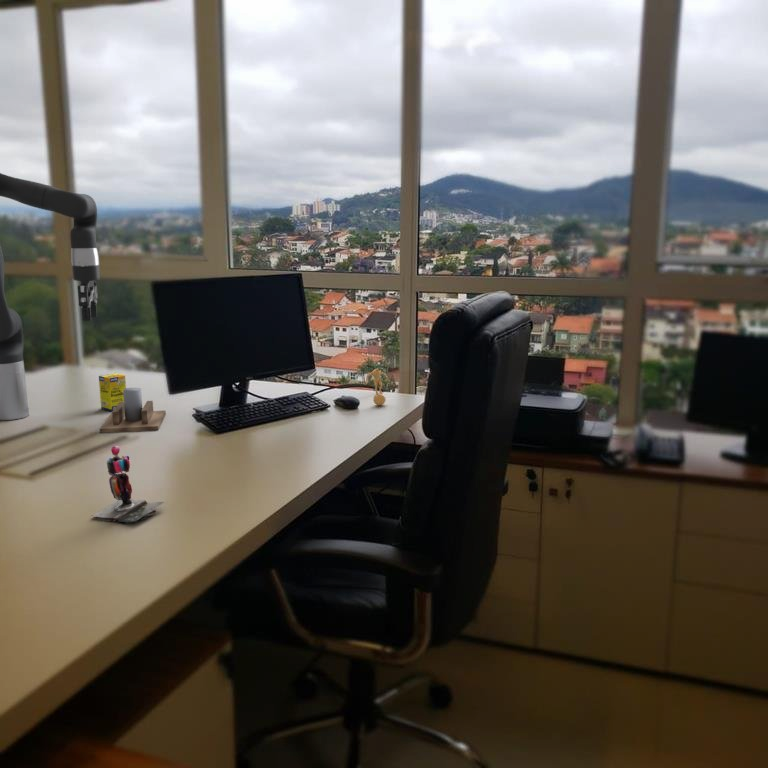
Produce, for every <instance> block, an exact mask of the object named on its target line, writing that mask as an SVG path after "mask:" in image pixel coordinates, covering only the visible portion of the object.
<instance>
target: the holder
mask: <svg viewBox="0 0 768 768" xmlns="http://www.w3.org/2000/svg"><path fill="white" fill-rule="evenodd" d="M166 412H167V411H166V410H154V401H153V400H147V401H146V402H145V404H144V405H143V406H142V410H141V414H142V420H139V421H126V420H125V409H124V402H119V404H118V405H117V406H116V408H115V409H114V410H113V411H112V412H111V413H110V414H109V415H108V417H107V418H106V420H104V422H103V423H102V425H101V426H100V427H99V433H100V434H102V433H104V434H105V433H123V432H124V433H125V432H144V431H145V432H147V431H149V432H150V431H159V430H160V428H161V425H162V423H163V421H164V419H165V416H166V415H167V413H166Z"/></svg>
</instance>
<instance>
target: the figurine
mask: <svg viewBox="0 0 768 768" xmlns="http://www.w3.org/2000/svg"><path fill="white" fill-rule="evenodd" d="M372 375H373V377H374V379H373V384H374V390H375V394H374V396H373V398H372V399H373V403H374V404H375V405H376V406H383V405H384V404H385V403H386V396H385V395H384V393H383V392H382V388H383V382H382V378H380V376H381V375H384V376H385V378H386V379H387V381H388V382H389V383H390V382H391V381H390V379H389V377H388V376H387V374H386V373H385V372H383V371H382V370H380V369H379V367H377V368H375V369H373V371H371V372H370V373H368V374H367V375H366V379H365V384H366V385H367V384H368V380H369V377H370V376H372ZM378 385H379V388H378ZM378 389H379V390H378ZM378 391H379V393H378Z"/></svg>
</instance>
